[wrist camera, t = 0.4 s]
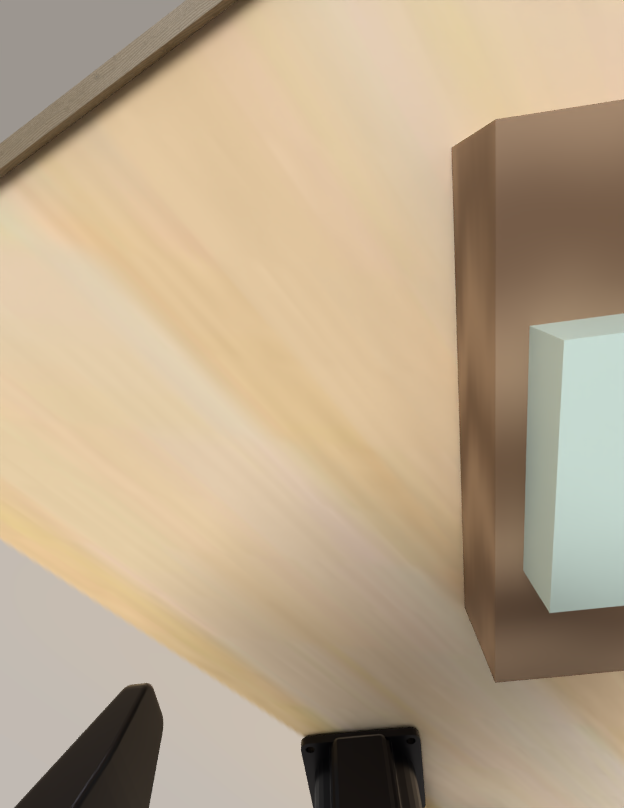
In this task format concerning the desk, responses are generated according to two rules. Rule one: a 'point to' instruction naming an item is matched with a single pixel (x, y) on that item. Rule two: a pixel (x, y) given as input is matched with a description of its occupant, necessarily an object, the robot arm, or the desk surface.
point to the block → (575, 464)
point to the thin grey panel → (79, 59)
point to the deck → (509, 356)
